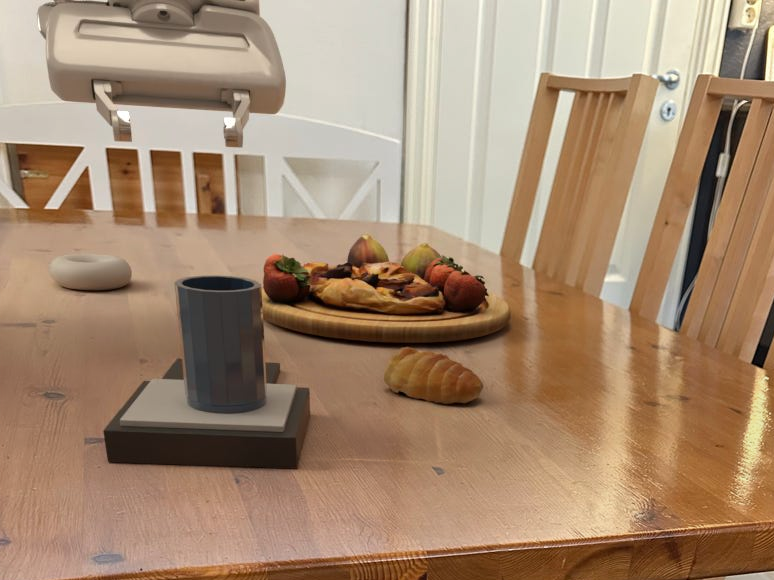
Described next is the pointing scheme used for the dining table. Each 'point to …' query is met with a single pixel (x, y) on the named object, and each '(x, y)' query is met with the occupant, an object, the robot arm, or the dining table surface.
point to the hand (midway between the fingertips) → (179, 139)
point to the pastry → (431, 377)
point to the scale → (208, 429)
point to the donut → (90, 271)
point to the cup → (222, 343)
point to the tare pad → (177, 374)
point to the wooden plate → (381, 297)
